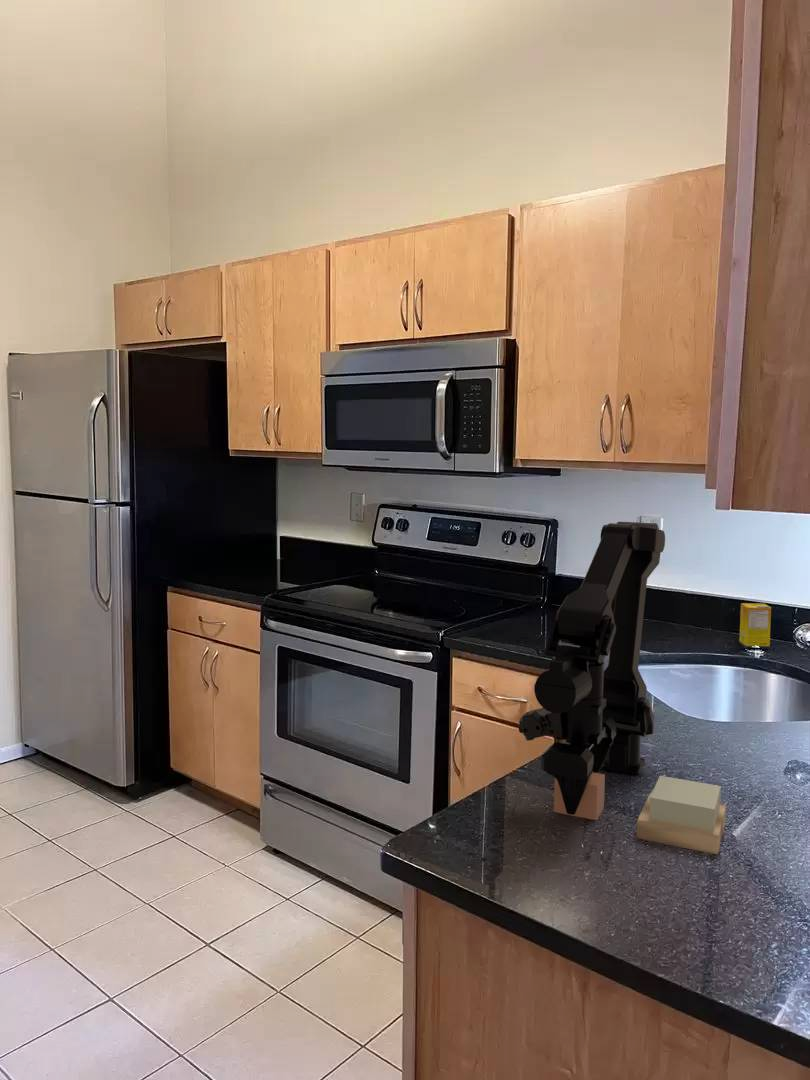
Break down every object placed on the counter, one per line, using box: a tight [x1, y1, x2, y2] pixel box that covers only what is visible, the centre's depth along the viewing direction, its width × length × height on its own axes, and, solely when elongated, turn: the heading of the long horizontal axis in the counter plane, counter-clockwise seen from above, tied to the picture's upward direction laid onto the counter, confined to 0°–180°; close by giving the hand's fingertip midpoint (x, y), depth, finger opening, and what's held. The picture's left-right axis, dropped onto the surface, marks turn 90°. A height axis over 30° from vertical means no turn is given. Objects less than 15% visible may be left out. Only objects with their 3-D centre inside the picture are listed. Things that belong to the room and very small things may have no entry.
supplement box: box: [738, 602, 772, 650], centre depth 211 cm, size 6×6×11 cm
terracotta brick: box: [553, 772, 606, 821], centre depth 116 cm, size 4×6×5 cm
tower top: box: [649, 775, 722, 832], centre depth 109 cm, size 8×8×3 cm
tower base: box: [636, 791, 727, 855], centre depth 110 cm, size 10×10×3 cm
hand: (579, 801), depth 116 cm, fingers open, 9 cm apart
